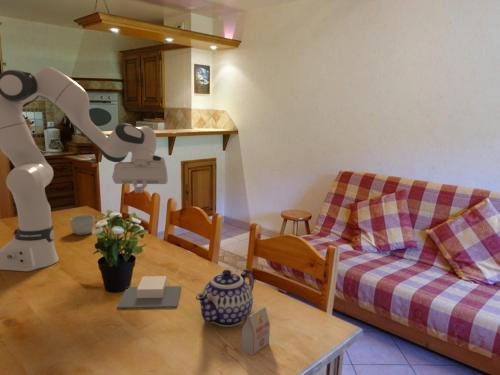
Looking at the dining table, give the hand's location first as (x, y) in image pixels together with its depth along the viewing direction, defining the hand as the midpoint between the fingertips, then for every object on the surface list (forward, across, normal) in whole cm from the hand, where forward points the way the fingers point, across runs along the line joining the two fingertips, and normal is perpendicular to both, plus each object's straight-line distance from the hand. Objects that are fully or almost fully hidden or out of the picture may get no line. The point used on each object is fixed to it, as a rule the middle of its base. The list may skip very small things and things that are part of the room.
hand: (138, 192), depth 146 cm
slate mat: (+39, +8, +2) cm, 40 cm away
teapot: (+49, +32, -7) cm, 59 cm away
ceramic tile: (+32, +8, +7) cm, 33 cm away
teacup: (-11, -35, +52) cm, 64 cm away
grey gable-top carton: (+60, +39, -18) cm, 73 cm away
